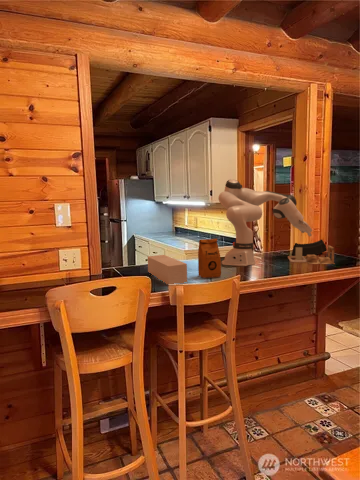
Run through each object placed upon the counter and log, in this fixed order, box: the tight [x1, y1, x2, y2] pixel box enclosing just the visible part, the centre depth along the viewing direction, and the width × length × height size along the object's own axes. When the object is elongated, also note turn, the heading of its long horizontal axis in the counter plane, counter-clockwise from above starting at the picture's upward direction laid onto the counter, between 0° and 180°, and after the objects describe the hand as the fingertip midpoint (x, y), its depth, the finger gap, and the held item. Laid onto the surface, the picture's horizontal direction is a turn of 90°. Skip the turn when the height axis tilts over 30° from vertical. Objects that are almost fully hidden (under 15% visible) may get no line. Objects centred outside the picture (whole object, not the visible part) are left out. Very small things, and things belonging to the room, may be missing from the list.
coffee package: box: [197, 238, 222, 279], centre depth 186 cm, size 10×12×22 cm
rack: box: [307, 245, 335, 265], centre depth 212 cm, size 16×11×11 cm
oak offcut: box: [306, 255, 318, 259], centre depth 213 cm, size 5×4×2 cm
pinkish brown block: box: [147, 254, 188, 285], centre depth 187 cm, size 32×11×11 cm, turn 25°
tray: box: [287, 255, 307, 263], centre depth 221 cm, size 10×14×2 cm
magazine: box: [290, 239, 328, 257], centre depth 240 cm, size 17×3×30 cm
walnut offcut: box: [305, 256, 318, 264], centre depth 213 cm, size 6×5×3 cm
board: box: [294, 247, 303, 260], centre depth 220 cm, size 4×2×9 cm, turn 80°
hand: (306, 234), depth 222 cm, fingers open, 8 cm apart
